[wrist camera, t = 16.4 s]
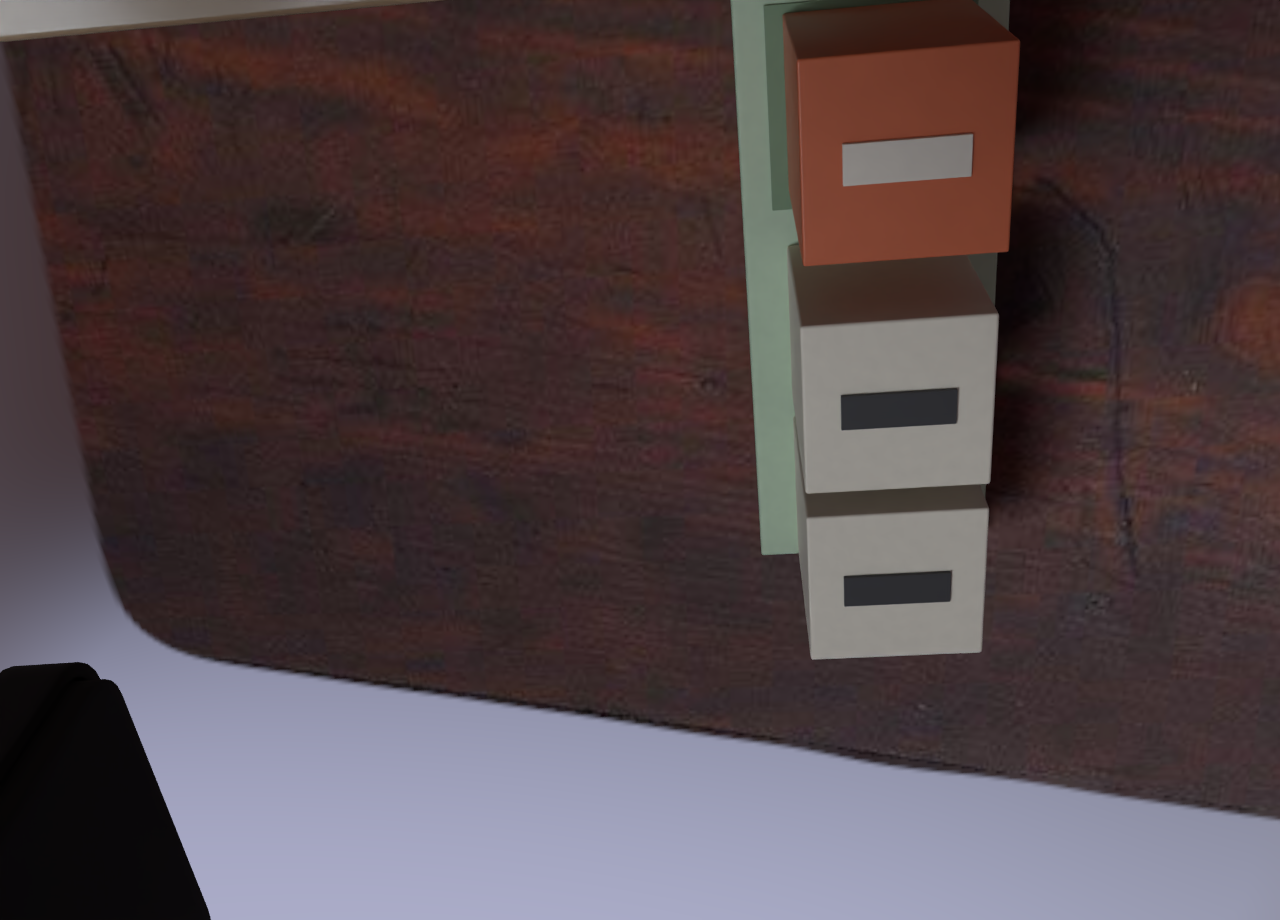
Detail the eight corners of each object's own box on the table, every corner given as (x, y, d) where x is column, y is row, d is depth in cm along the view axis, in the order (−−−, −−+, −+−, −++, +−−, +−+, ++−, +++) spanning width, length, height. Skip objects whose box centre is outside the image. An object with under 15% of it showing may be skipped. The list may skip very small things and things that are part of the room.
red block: (782, 12, 26) (796, 60, 22) (969, -4, 26) (1022, 40, 22) (788, 192, 28) (803, 269, 24) (962, 179, 28) (1010, 254, 24)
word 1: (760, 540, 34) (769, 674, 29) (729, -27, 27) (733, 19, 22) (977, 529, 34) (1026, 663, 29) (1005, -53, 26) (1076, -12, 21)
